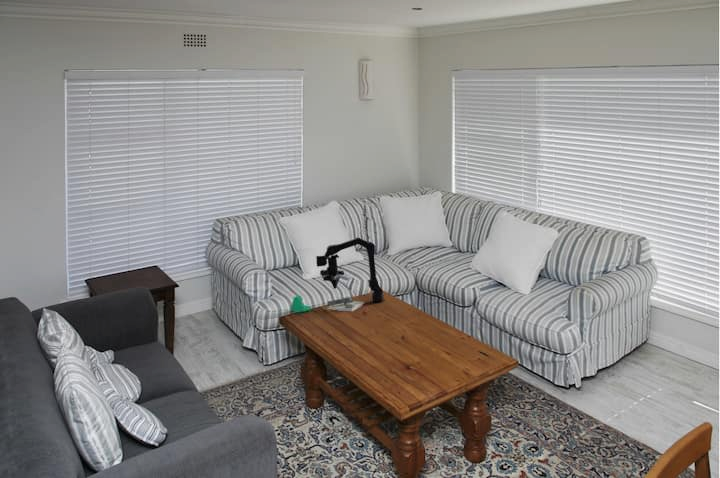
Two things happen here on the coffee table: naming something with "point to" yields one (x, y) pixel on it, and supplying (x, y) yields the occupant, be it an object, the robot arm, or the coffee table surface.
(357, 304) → the levelling board
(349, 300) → the footscrew knob
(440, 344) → the coffee table surface
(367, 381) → the coffee table surface
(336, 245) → the robot arm
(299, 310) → the green irregular lump
